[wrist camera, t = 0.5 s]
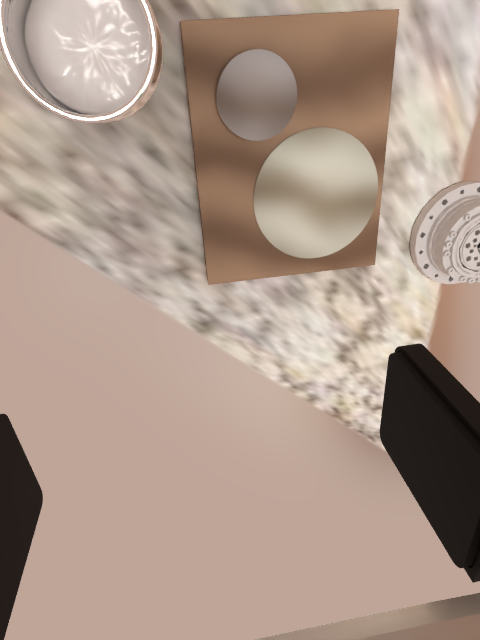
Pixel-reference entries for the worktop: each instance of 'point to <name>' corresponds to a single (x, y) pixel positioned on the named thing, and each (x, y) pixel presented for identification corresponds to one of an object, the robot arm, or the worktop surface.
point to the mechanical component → (449, 235)
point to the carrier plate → (289, 139)
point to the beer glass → (83, 55)
